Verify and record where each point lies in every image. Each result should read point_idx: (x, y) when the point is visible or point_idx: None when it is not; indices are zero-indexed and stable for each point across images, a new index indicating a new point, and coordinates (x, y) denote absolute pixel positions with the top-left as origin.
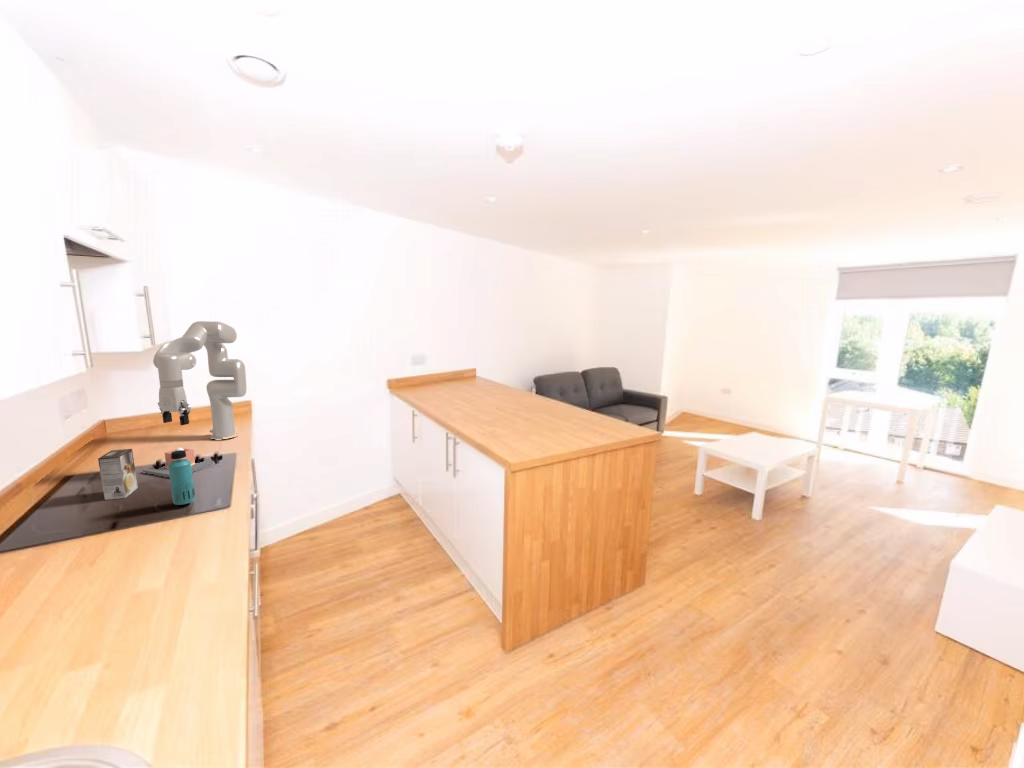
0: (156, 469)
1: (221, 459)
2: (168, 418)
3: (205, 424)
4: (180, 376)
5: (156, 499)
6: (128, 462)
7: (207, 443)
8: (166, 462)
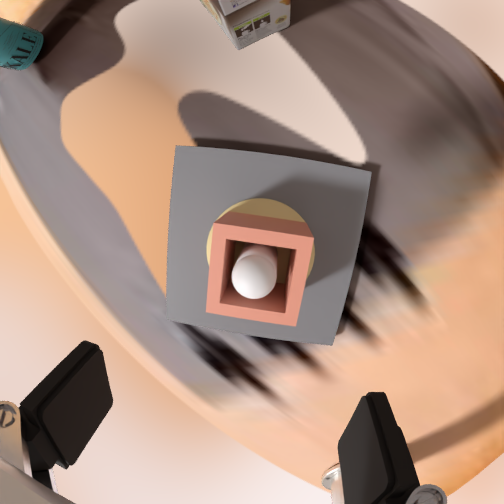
0: (318, 184)
1: (197, 352)
2: (356, 456)
3: (445, 482)
4: None
5: (106, 29)
6: None
7: None
8: (303, 225)
